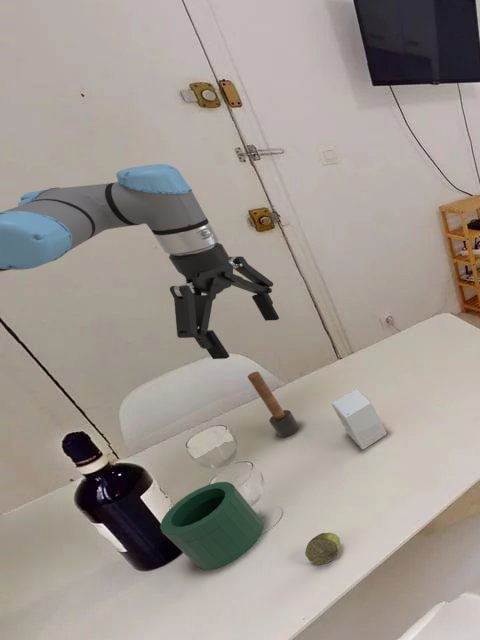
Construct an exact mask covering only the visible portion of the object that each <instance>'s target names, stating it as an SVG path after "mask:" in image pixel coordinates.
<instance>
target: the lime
mask: <svg viewBox="0 0 480 640" xmlns="http://www.w3.org/2000/svg"><path fill="white" fill-rule="evenodd" d="M340 549H341V539H340V537H339V536H338V535H337V534H336V533H334V532H333V533H332V532H321V533H319V534H317V535H316V536H315V537H313V538H312V539H311V540H309V542H308V543H307V545H306V548H305V551H304V554H305V557H306V558H307V559H308V561H309V562H311V563H313V564H316V565H323V564H326V563H330V561H332V560H333V559H334V558H336V557H337V556H338V554H339V552H340Z"/></svg>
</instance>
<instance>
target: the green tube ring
mask: <svg viewBox="0 0 480 640" xmlns="http://www.w3.org/2000/svg"><path fill="white" fill-rule="evenodd" d="M159 528H160V531H161V533H162V534H163V535H164V536H165V537H166V538H167V539H168V540H169V541H171V543H173V544H174V546H176V547H177V549H178V550H179V551H181V552H182V553H183V554H184V555H185V556H186V557H187V558H188V559H189V560H190V561H191V562H192V563H193V564H194V565H196V566H197V567H199V568H200V569H201V570H207V571H208V570H209V571H210V570H216V569H219V568H221V567H224V566H226V565H228V564H230V563H233V562H234V561H236V560H237V559H239V558H240V557H242V555H245V553H247V552H248V551H249V550H250V549H251V548H252V547H253V546H254V545H255V543H256V542H257V541H258V540H259V538H260V536H261V535H262V532H263V529H264V522H263V520H262V519H261V518H260V515H258V514H257V512H256V511H255V510H254V509H253V507H252V506H251V505H250V504H249V503H248V501H247V500H246V499H245V498H244V496H243V495H242V494H241V492H240V491H239V490H238V489H237V488H236V487H235V485H234V484H233V483H232V482H228V481H216V482H213V483H210V484H207V485H204V486H202V487H199V488H198V489H195V490H193V491H192V492H189V494H187V495H186V496H184V497H183V498H181V499H180V500H179V501H177V502H176V503H175V504H174V505H173V506H172V507H171V508H169V510H168V511H167V512H166V514H165V515H164V516H163V518H162V519H161V522H160V525H159Z"/></svg>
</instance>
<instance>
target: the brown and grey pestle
mask: <svg viewBox="0 0 480 640" xmlns="http://www.w3.org/2000/svg"><path fill="white" fill-rule="evenodd" d="M247 379H248V381H249V382H250V383H251V385H252V387H253V388H254V390H255V391H256V393H257V394H258V396H259V397H260V398H261V400H262V402H263V404H264V405H265V406H266V408H267V409H268V411H269V412H270V414H271V417H270V418H269V421H268V422H269V423H270V425H271V426H272V428H273V430H274V431H275V433H276V434H277V435H278V436H279V438H283V439H284V438H289V437H291V436H292V435H294V434H296V433H297V432H298V430H299V429H300V425H299V423H298V421H297V420H296V418H295V417H294V415H293V413H292V411H291V410H289V409H284V410H283V408H282V407H281V405H280V403H279V401H278V400H277V398H276V397H275V395H274V394H273V392H272V391H271V389H270V387H269V385H268V384H267V383H266V381H265V379H264V378H263V376H262V375H261V373H260V371H254V372H251V373H249V374H248V375H247Z"/></svg>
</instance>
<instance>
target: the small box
mask: <svg viewBox="0 0 480 640" xmlns="http://www.w3.org/2000/svg"><path fill="white" fill-rule="evenodd" d="M330 405H331V406H332V408H333V410H334V411H335V413H336V415H337V417H338V419H339V420H340V422H341V424H342V426H343V427H344V429H345V431H346V433H347V435H348V436H349V437H350V438H351V439H352V441H354V442H355V443H356V445H358V447H359V448H360V450H363V451H364V450H365V449H366V448H368V447H370V446H371V445H373V444H374V443H376V442H378V441H379V440H381V439H382V438H383V437H385V436H386V435H387V434H388V433H387V431H386V429H385V427H384V425H383V423H382V421H381V419H380V416H379V414H378V413H377V411H376V409H375V407H374V404H373V403H372V401H370V399H368V398H367V397H366V396H365V395H364V394H363V393H362V392H361V391H360V390H358V389H354V390H352V391H350V392H349V393H347V394H344V395H343V396H342V397H340V398H338V399H336V400H334V401H332V402H331V404H330Z"/></svg>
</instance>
